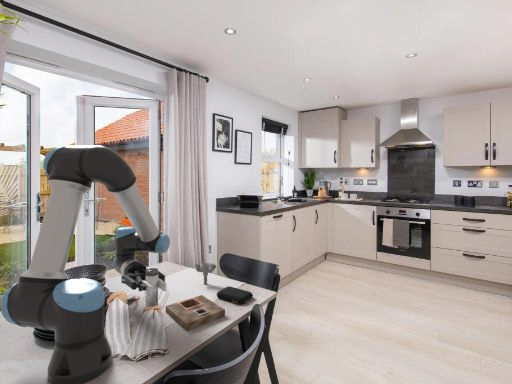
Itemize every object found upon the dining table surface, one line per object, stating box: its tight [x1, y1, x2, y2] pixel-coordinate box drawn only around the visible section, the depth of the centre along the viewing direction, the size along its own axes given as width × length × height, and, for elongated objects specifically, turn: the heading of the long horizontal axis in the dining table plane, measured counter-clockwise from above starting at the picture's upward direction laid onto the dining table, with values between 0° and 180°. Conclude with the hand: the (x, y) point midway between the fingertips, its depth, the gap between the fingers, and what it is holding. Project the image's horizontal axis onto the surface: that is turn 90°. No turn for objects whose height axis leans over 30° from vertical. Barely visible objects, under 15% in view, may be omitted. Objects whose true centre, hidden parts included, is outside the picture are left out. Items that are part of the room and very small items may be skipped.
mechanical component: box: [194, 262, 217, 285], centre depth 140 cm, size 3×10×10 cm, turn 78°
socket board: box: [165, 294, 226, 331], centre depth 110 cm, size 16×17×3 cm
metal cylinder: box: [145, 267, 159, 308], centre depth 98 cm, size 4×4×12 cm
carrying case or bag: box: [216, 285, 254, 305], centre depth 125 cm, size 11×3×15 cm
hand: (158, 288), depth 94 cm, fingers closed on metal cylinder, 4 cm apart
